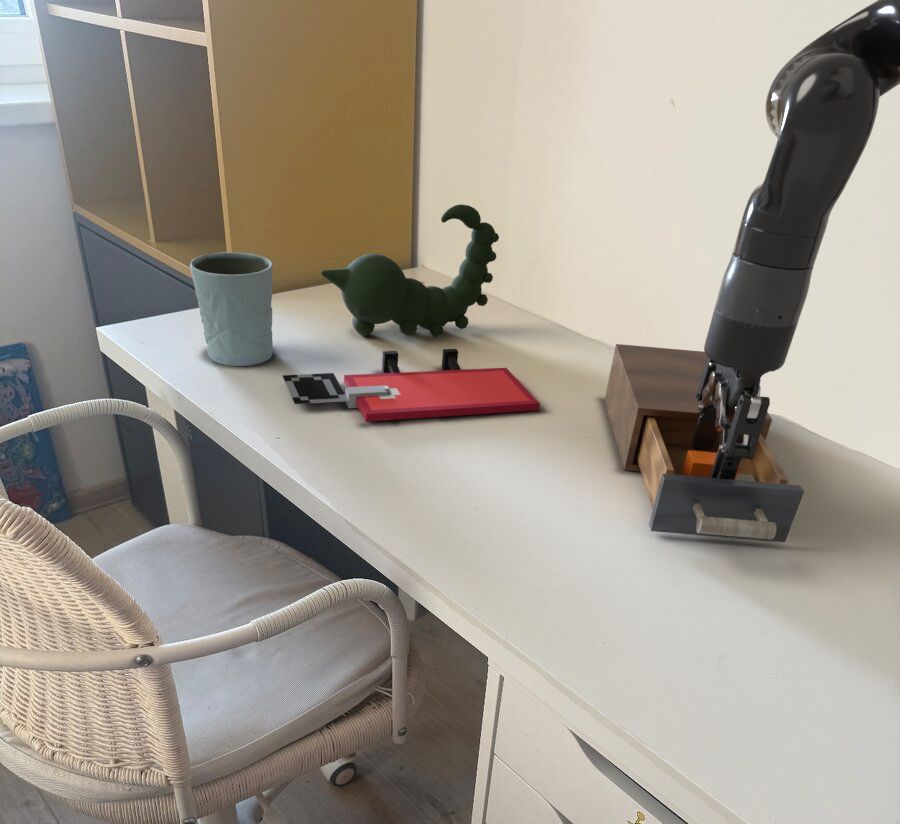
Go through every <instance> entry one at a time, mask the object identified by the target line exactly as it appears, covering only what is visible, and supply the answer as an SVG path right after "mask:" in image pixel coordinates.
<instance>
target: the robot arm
mask: <svg viewBox="0 0 900 824" xmlns="http://www.w3.org/2000/svg"><path fill="white" fill-rule="evenodd" d="M899 85H900V0H876V1H874V2H873V3H870V4H869V5H868V6H865V7H864V8H862V9H860V10H859V11H857V12H856V13H854V14H853V15H851V16H849V17H848V18H846V19H845V20H843V21H841V22H840V23H839V24H837V25H835V26H833V28H831V29H829V30H828V31H826V32H824V33H823V34H822V35H820V36H819V37H817V38H816V39H814V40H813V41H811V42H810V43H809V44H807V45H806V46H805V47H803V48H802V49H801V50H799V51H798V52H797V53H796V54H795V55H794V56H793V57H792V58H790V59H789V60H788V61H787V62H786V63H785V64H784V65H783V66H782V68H781V69H780V70H779V71H778V73H777V74H776V75H775V77H774V79H773V81H772V82H771V83H770V86H769V89H768V92H767V95H766V98H765V105H764V106H765V107H764V113H765V119H766V123H767V125H768V128H769V130H770V131H771V133H772V134H773V135H774V136H775V137H776V139H777V140H776V144H775V146H774V150H773V153H772V156H771V159H770V163H769V164H768V168H767V170H766V173H765V177H764V179H763V182H762V183H760V184H758V185H757V186H756V187H755V188H754V189H753V190H752V191H751V193H750V194H749V197H748V199H747V202H746V205H745V207H744V210H743V213H742V217H741V221H740V224H739V227H738V232H737V235H736V239H735V242H734V246H733V250H732V254H731V256H730V259H729V261H728V263H727V266H726V269H725V271H724V274H723V276H722V279H721V283H720V287H719V290H718V294H717V297H716V302H715V305H714V309H713V312H712V315H711V320H710V324H709V328H708V331H707V335H706V338H705V342H704V345H703V352H705V354H706V355H707V356H708V357H707V361H706V364H705V368H704V371H703V374H702V378H701V381H700V384H699V388H698V391H697V393H696V399H697V401H701V402H700V403H699V406H698V412H699V413H702V414H701V415H699V418H698V422H697V425H696V429H695V432H694V436H693V440H692V446H693V448H694V449H696V450H705V451H709V450H711V449H712V448H713V446H714V443H715V440H716V436H717V433H718V431H719V433H720V435H719V446H718V452H717V455H716V458H715V461H714V465H713V468H712V471H711V474H710V478H719V479H731V480H734V479H735V476H736V473H737V469H738V466H739V463H740V460H741V458H744V459H752V458H753V456H754V453H755V450H756V447H757V443H758V440H759V437H760V434H761V430H762V427H763V424H764V421H765V417H766V414H767V412H768V410H769V407H770V404H771V399H770V397H769V396H761V389H762V388H761V380H762V379H761V378H762V377H763V376H764V375H766V374H767V373H770V372H775V371H778V370H780V369H781V368H782V367H783V366H784V364H785V362H786V360H787V356H788V354H789V351H790V348H791V345H792V342H793V339H794V336H795V333H796V329H797V327H798V324H799V321H800V317H801V316H802V315H801V314H802V312H803V309H804V306H805V303H806V300H807V297H808V294H809V289H810V284H811V279H812V273H813V270H814V267H815V266H814V265H815V264H816V260H817V257H818V254H819V251H820V249H821V245H822V241H823V238H824V236H825V233H826V230H827V226H828V223H829V219H830V215H831V213H832V211H833V209H834V207H835V205H836V203H838V200H839V198H840V197H841V195H842V194H843V192H844V190H845V188H846V186H847V184H848V182H849V180H850V179H851V176H852V174H853V172H854V170H855V168H856V167H857V165H858V163H859V161H860V159H861V157H862V155H863V152H864V151H865V149H866V146H867V144H868V141H869V139H870V137H871V134H872V131H873V129H874V125H875V121H876V118H877V115H878V109H879V104H880V97H882V96H883V95H885V94H887V93H888V92H890V91H891V90H892V89H894V88H895V87H898V86H899ZM726 418H727V419H733V421H728V420H727V419H726ZM728 433H729V436H728ZM739 435H740V437H739V443H736V442H737V438H738V436H739ZM749 435H750V437H749ZM748 439H749V440H748Z"/></svg>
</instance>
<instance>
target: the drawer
mask: <svg viewBox="0 0 900 824" xmlns="http://www.w3.org/2000/svg"><path fill="white" fill-rule="evenodd" d="M697 422H698V420H696V419H684V418H672V417H661V416H649V415H644V417H643V421H642V425H641V430H640V434H639V438H638V443H637V447H636V451H635V454H636V457H637V461H638V464H639V467H640V470H641V472H640V473H641V477H642V480H643V484H644V486H645V490H646V492H647V497H648V500H649V502H650V505H651V509H652V511H651V516H650V520H649V523H648V526H649V530H650V532H656V533H657V532H659V533H669V534H679V535H680V534H681V535H693V536H704V537H706V536H707V537H715V538H718V537H719V538H728V539H739V540H740V539H741V540H751V541H763V542H765V541H766V542H774V543H786V541H787V538H788V535H789V532H790V530H791V528H792V525H793V522H794V519H795V517H796V514H797V512H798V510H799V506H800V503H801V501H802V499H803V496H804V494H805V490H804V489H803V487H802V486H801V485H800V484H790V483H789V478H788V476H787V475H786V473H785V471H784V469H783V468H782V467H781V465H780V463H779V461H778V460H777V458H776V455H774V453H773V452H772V450H771V448H770V446H769V445H768V443H767V441H766V440H764V438H763V436H762V435H761V434H760V437H759V440H758V443H757V447H756V450H755V453H754V456H753V458H752V459H744V458H741V460H740V463H739V466H740V468H739V471H738V474H744V475H753V477H754V479H755V481H756V482H754V481H743V480H731V479H719V478H708V477H696V476H684V475H681V474H682V471H683V467H684V463H685V460H686V456H687V452H688V450H690V451H702V452H713V453H717V452H718V446H719V435H720V433H719V431H718V433H717V436H716V440H715V443H714V446H713V448H712V449H711V450H709V451H705V450H696V449H694V448H693V446H692V440H693V436H694V432H695V429H696V425H697ZM728 436H729V433H728ZM739 437H740V435H739V436H738V438H737V442H736V443H739ZM749 437H750V435H749ZM748 440H749V439H748ZM788 483H789V484H788Z"/></svg>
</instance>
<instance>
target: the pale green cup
mask: <svg viewBox="0 0 900 824" xmlns="http://www.w3.org/2000/svg"><path fill="white" fill-rule="evenodd" d="M273 266H274V265H273V262H272V261H271V260H270V259H268V257H265V256H262V255H260V254H255V253H249V252H237V251H236V252H235V251H226V252H225V251H223V252H213V253H208V254H203V255H200V256H197V257H195V258H193V259H192V260H191V261H190V264H189V268H190V273H191V276H192V281H193V286H194V290H195V296H196V299H197V301H198V302H197V305H198V306H199V316H200V320H201V323H202V324H203V335H204V340H205V343H206V350H207V354H208V357H209V359H210V360H211V361H213V362H215V363H218V364H221V365H224V366H229V367H230V366H232V367H250V366H256V365H259V364H263V363H265V362H267V361H269V360H270V359H271V358H272V356H273V344H274V343H273V331H272V326H273V307H272V300H273V274H274V273H273V272H274V271H273V269H274V268H273Z"/></svg>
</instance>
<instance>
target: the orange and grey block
mask: <svg viewBox="0 0 900 824" xmlns="http://www.w3.org/2000/svg"><path fill="white" fill-rule="evenodd" d="M716 455H717V453H713V452H702V451H690V450H688V452H687V456H686V460H685V463H684V467H683V471H682V474H681V475H684V476H696V477H708V478H710V474H711V471H712V468H713V465H714V461H715V458H716ZM739 468H740V466H738V469H737V473H736V476H735V479H734V480H743V481H754V482H756V481H755V479H754V477H753V475H744V474H738V471H739Z"/></svg>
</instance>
